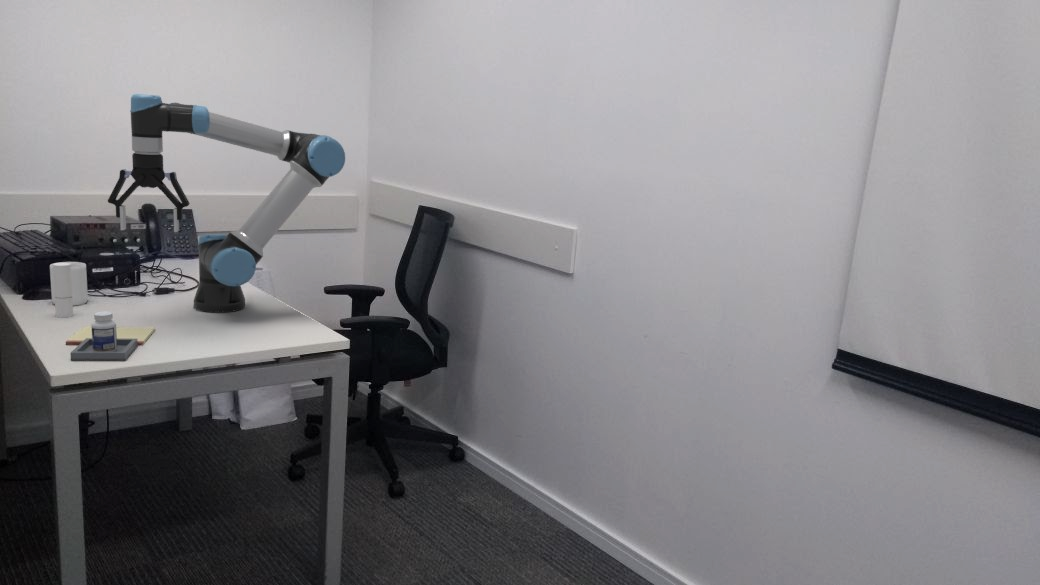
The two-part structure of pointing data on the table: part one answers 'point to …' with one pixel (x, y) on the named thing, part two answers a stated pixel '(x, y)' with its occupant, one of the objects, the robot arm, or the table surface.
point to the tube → (63, 289)
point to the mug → (74, 283)
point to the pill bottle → (104, 332)
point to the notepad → (121, 332)
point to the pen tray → (121, 354)
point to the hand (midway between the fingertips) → (150, 230)
